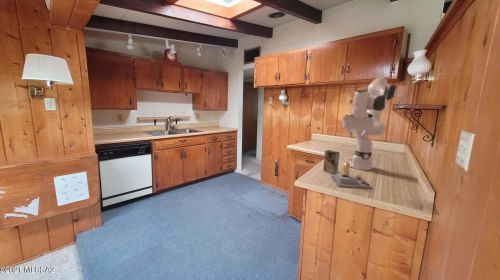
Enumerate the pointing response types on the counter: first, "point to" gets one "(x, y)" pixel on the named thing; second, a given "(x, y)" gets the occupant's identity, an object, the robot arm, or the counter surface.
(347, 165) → the pin
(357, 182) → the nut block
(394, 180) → the counter surface
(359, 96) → the robot arm
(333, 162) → the coffee box
